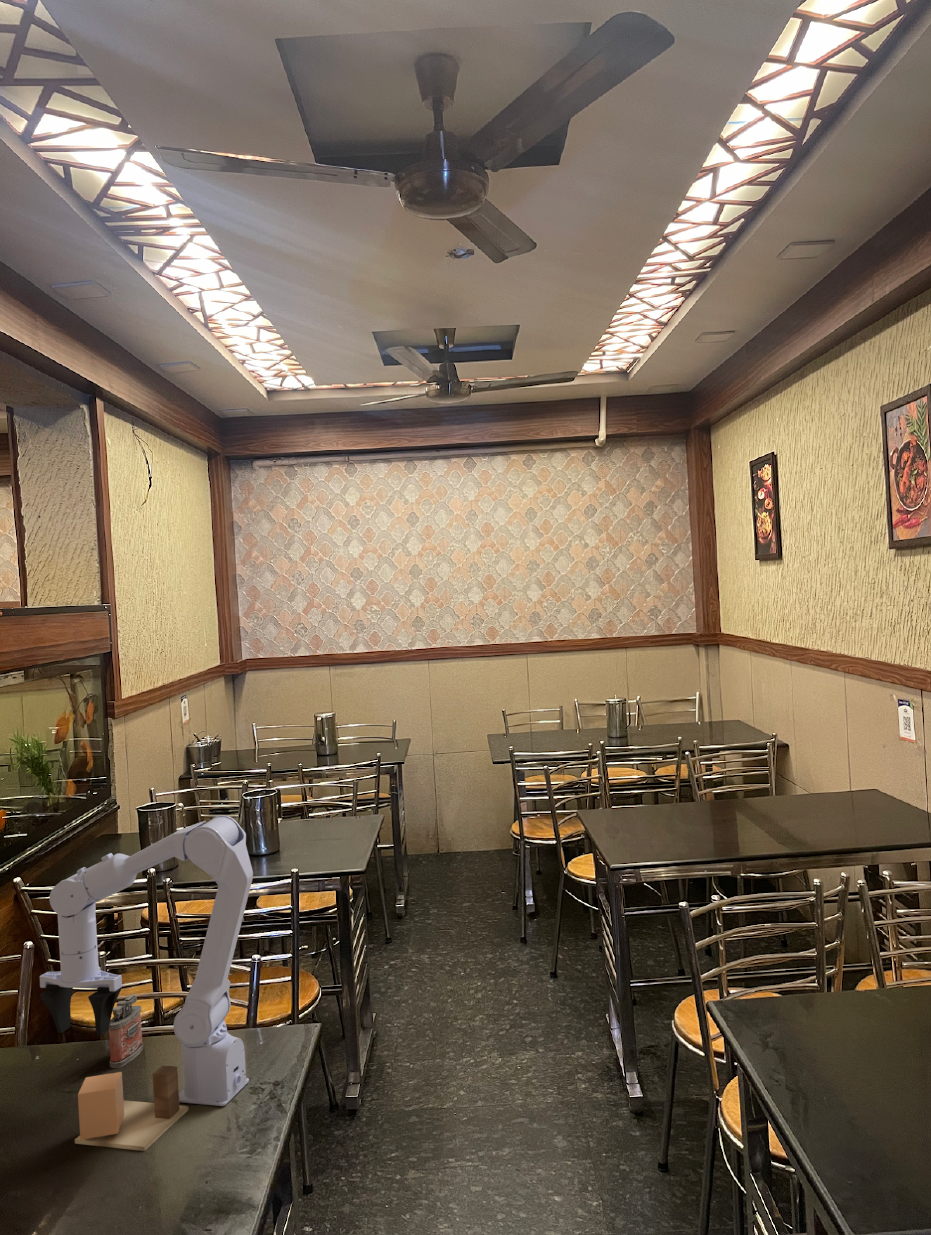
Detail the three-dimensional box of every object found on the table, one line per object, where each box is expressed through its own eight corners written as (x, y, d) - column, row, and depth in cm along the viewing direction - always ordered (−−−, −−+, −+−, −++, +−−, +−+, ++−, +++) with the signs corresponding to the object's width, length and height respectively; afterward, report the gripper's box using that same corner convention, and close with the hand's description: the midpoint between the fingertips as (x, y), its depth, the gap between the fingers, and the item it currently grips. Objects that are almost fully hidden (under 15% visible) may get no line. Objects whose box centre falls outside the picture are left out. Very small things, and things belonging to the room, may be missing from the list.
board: (188, 1110, 137) (187, 1106, 137) (144, 1150, 127) (144, 1146, 127) (122, 1103, 141) (122, 1100, 141) (74, 1143, 130) (74, 1139, 130)
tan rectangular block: (124, 1115, 135) (121, 1071, 135) (117, 1133, 130) (115, 1088, 130) (88, 1120, 134) (85, 1077, 134) (80, 1139, 129) (77, 1094, 129)
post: (179, 1109, 136) (177, 1066, 137) (169, 1119, 134) (167, 1074, 134) (165, 1108, 137) (162, 1065, 137) (155, 1117, 135) (152, 1073, 135)
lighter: (122, 1068, 153) (119, 1010, 153) (105, 1067, 154) (101, 1010, 154) (148, 1046, 161) (144, 991, 161) (131, 1045, 162) (128, 991, 162)
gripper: (131, 941, 147) (136, 1023, 146) (59, 939, 150) (63, 1018, 150) (103, 957, 140) (108, 1042, 140) (28, 954, 144) (33, 1037, 143)
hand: (83, 1031), depth 144 cm, fingers open, 7 cm apart
